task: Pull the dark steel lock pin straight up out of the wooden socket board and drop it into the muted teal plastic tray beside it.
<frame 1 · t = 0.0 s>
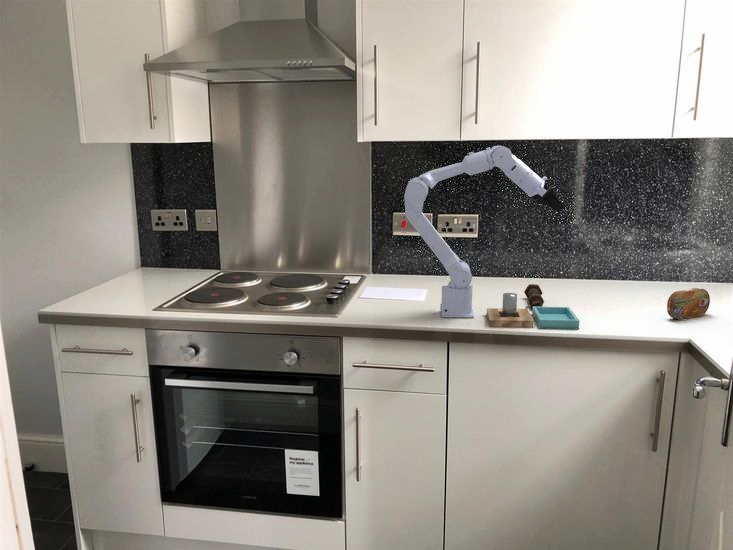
hand: (559, 207, 179), 32 cm above the counter, tool tilted 50°, fingers open, 7 cm apart
lock pin: (509, 307, 181), in the wooden socket board
tray: (554, 321, 180), on the counter
bolt: (534, 305, 198), on the counter
tin: (686, 317, 182), on the counter
wooden socket board: (509, 320, 182), on the counter
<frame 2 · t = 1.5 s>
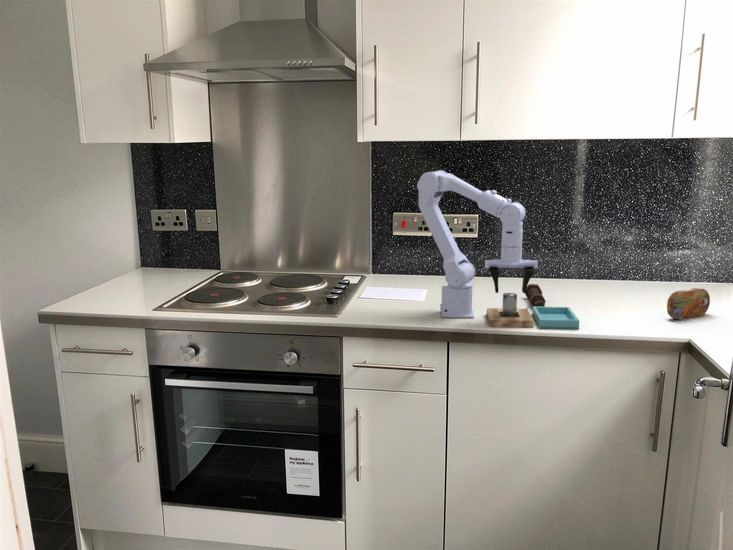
hand: (510, 292, 180), 9 cm above the counter, tool pointing down, fingers open, 7 cm apart
nothing on the counter moved.
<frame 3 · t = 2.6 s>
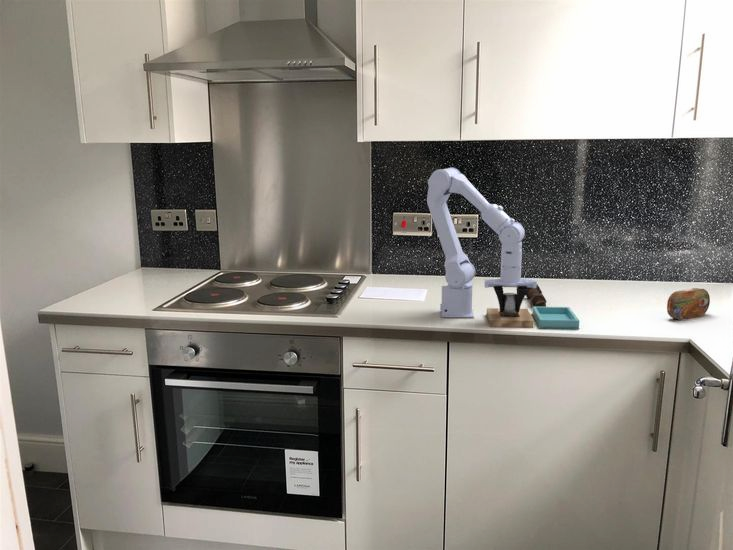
hand: (509, 311, 181), 3 cm above the counter, tool pointing down, fingers closed on lock pin, 4 cm apart
lock pin: (509, 307, 181), in the wooden socket board, touching gripper
everything else where it was.
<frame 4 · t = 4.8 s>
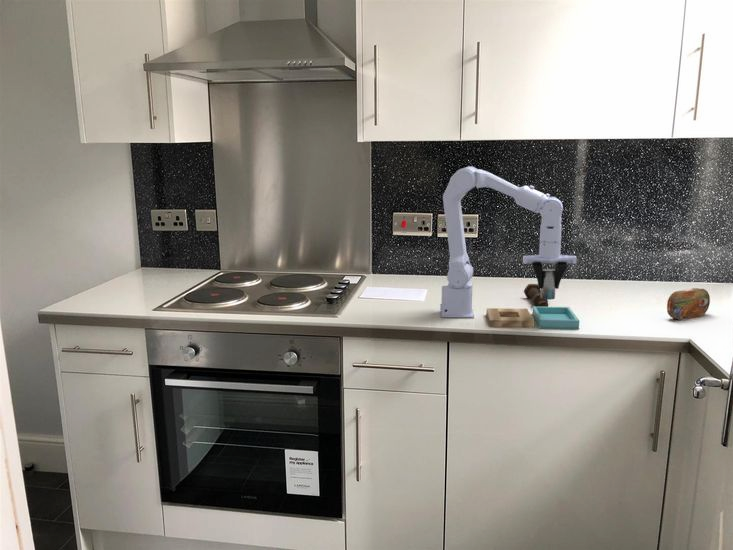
hand: (548, 287, 178), 10 cm above the counter, tool pointing down, fingers closed on lock pin, 4 cm apart
lock pin: (548, 284, 178), point 11 cm above the counter, touching gripper
everything else where it was.
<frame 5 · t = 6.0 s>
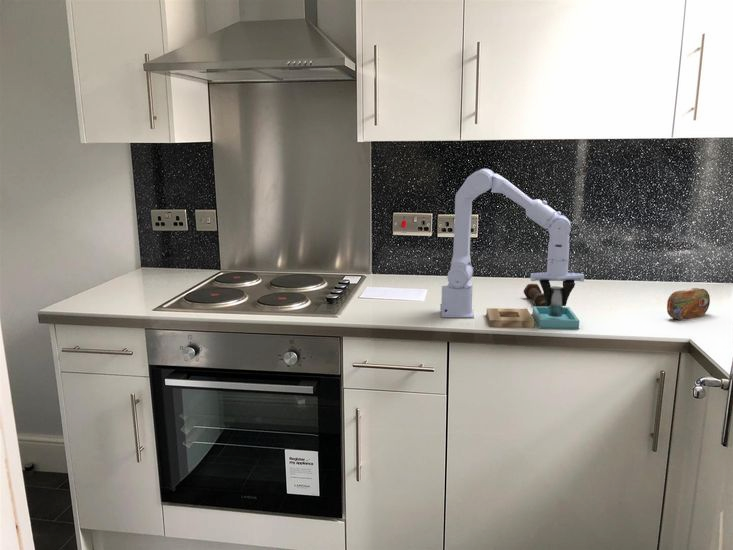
hand: (555, 305, 179), 5 cm above the counter, tool pointing down, fingers closed on lock pin, 4 cm apart
lock pin: (555, 301, 179), point 6 cm above the counter, touching gripper
when the fingers open (5 cm above the counter, at t = 6.8 s): lock pin drops 1 cm, resting on tray.
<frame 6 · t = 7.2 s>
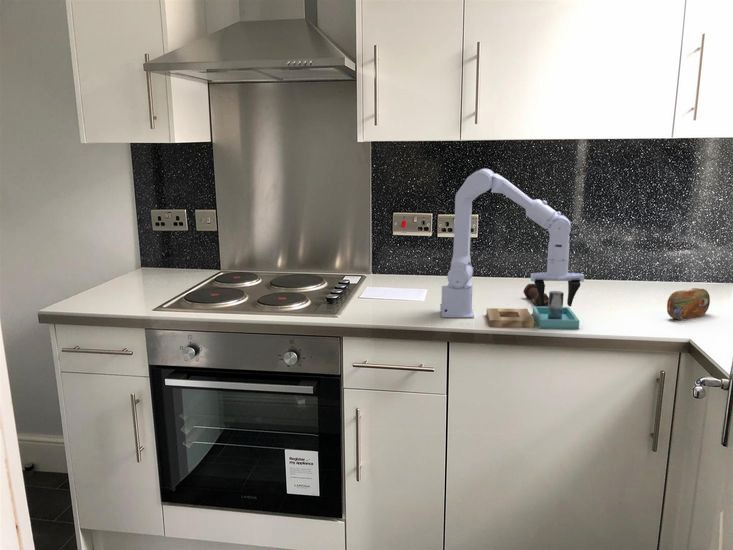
hand: (555, 305, 179), 5 cm above the counter, tool pointing down, fingers open, 7 cm apart
lock pin: (555, 306, 179), in the tray, point 5 cm above the counter
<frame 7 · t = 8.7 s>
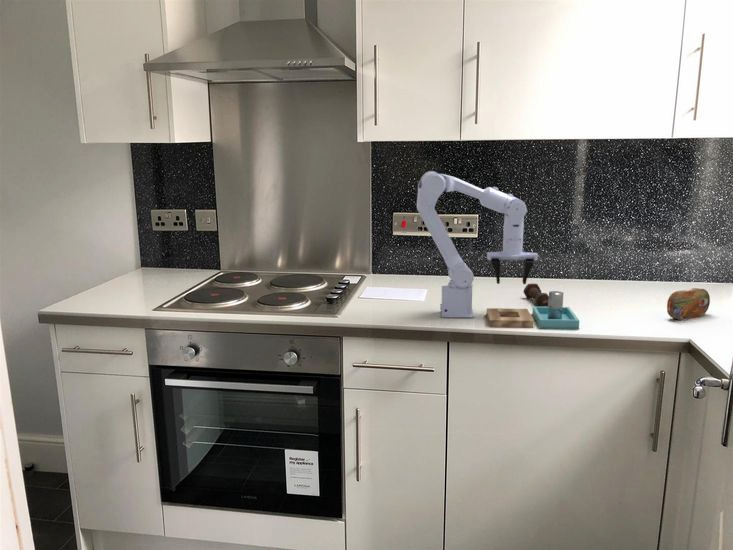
hand: (511, 283, 187), 9 cm above the counter, tool pointing down, fingers open, 7 cm apart
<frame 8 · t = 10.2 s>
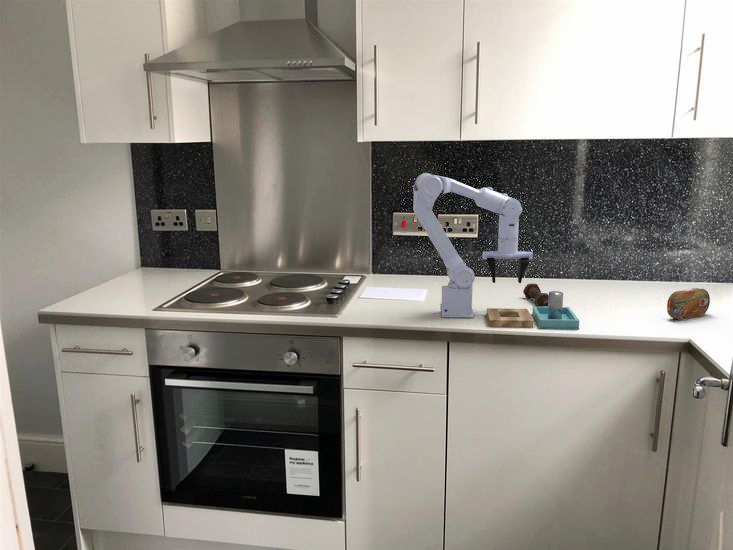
hand: (506, 282, 188), 9 cm above the counter, tool pointing down, fingers open, 7 cm apart
at the end: lock pin inside the target area on the tray (0.0 cm from its centre), point 4.6 cm above the tray's base; the gripper is holding nothing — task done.
